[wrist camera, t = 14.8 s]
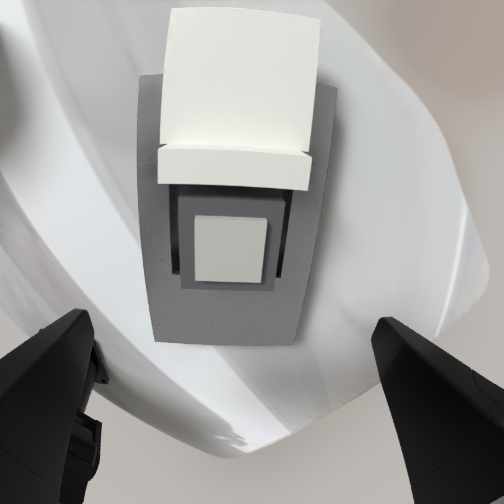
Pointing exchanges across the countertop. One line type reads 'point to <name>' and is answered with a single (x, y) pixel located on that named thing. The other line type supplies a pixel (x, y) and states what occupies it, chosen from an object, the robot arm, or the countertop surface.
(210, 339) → the socket plate
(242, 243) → the plug
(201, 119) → the panel
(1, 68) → the countertop surface
